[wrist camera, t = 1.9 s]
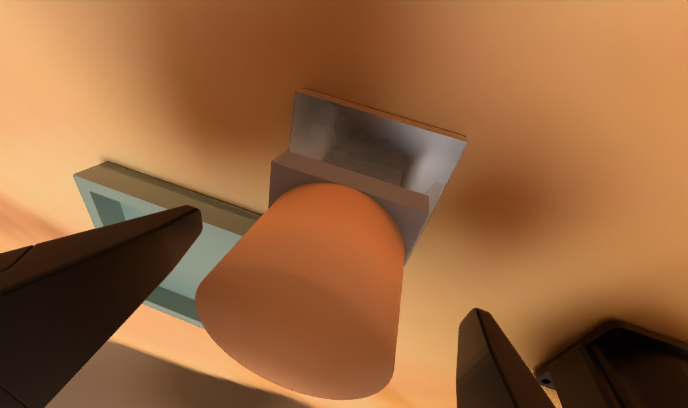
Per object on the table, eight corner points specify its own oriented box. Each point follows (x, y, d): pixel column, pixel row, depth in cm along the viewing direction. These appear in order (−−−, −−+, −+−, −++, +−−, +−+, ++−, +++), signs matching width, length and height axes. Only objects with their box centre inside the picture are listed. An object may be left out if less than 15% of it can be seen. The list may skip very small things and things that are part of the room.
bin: (275, 220, 16) (258, 241, 14) (266, 325, 22) (253, 348, 21) (107, 161, 17) (72, 174, 15) (145, 278, 23) (124, 296, 22)
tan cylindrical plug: (428, 195, 8) (432, 324, 4) (383, 290, 11) (361, 419, 7) (285, 149, 9) (182, 232, 5) (276, 252, 11) (204, 354, 8)
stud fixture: (465, 135, 11) (482, 176, 7) (405, 255, 15) (399, 315, 11) (302, 88, 11) (256, 106, 8) (287, 215, 15) (252, 260, 12)
